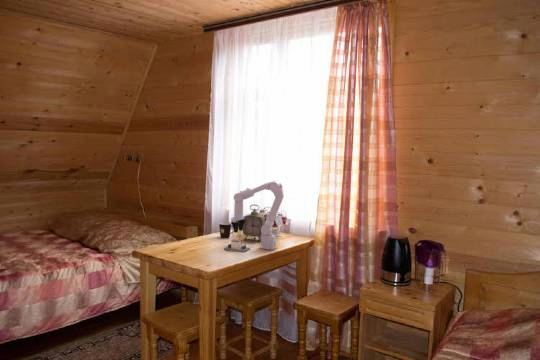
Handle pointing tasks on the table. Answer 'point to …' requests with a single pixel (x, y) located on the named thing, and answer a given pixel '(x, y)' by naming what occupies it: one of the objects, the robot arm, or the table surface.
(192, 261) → the table surface
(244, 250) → the board
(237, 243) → the connector plug
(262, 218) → the tabletop clock
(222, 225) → the coffee mug
